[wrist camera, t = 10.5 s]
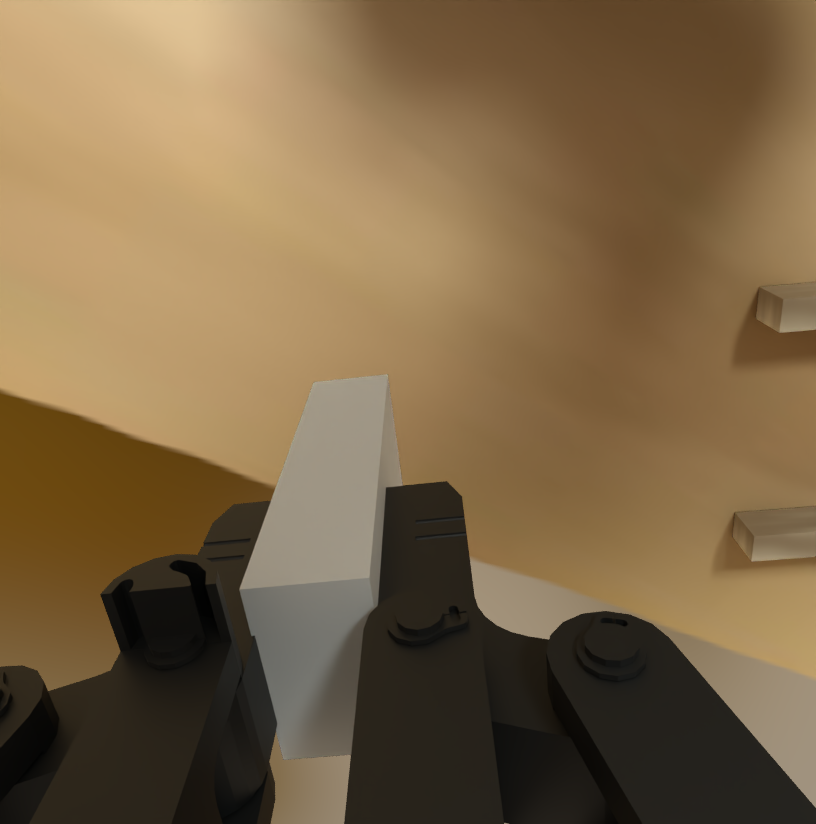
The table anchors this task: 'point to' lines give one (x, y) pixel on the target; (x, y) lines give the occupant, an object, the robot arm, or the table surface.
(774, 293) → the beam channel
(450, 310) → the table surface
